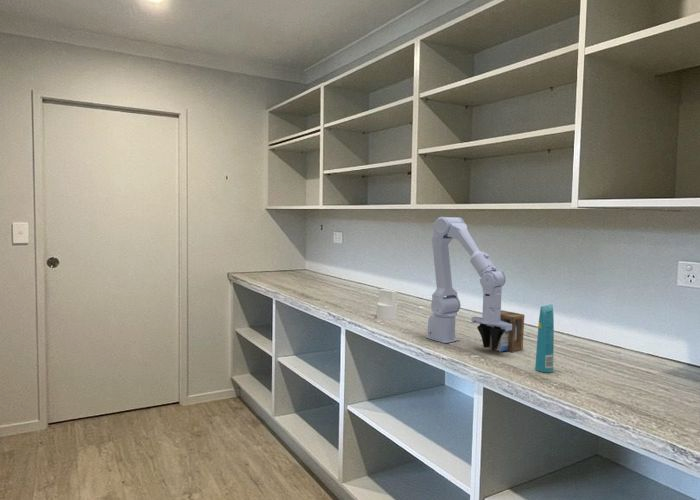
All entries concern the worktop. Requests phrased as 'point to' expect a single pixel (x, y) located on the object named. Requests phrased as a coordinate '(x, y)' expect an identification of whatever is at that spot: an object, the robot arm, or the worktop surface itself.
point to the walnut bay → (514, 319)
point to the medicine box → (505, 340)
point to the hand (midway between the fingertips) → (490, 348)
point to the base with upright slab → (387, 305)
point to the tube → (545, 340)
